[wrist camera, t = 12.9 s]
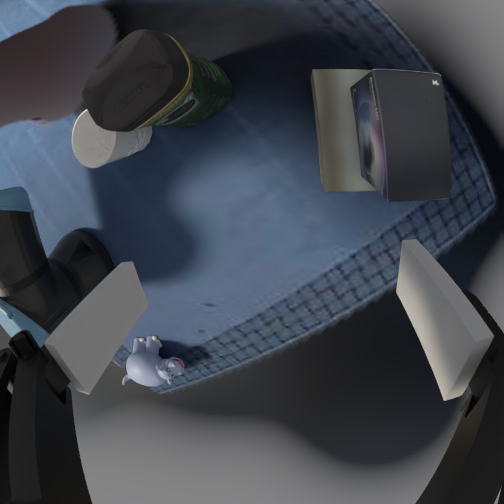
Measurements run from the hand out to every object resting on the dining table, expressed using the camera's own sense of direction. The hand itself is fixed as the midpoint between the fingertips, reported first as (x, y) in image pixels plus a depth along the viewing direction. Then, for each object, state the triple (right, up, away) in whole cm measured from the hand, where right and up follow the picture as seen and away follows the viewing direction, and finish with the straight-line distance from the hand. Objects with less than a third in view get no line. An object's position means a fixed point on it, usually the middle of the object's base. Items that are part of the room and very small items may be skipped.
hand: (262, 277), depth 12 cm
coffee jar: (-8, +22, +20) cm, 31 cm away
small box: (+14, +14, +13) cm, 24 cm away
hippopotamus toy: (-21, -21, +43) cm, 53 cm away
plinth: (+15, +17, +18) cm, 29 cm away
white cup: (-18, +19, +23) cm, 35 cm away
